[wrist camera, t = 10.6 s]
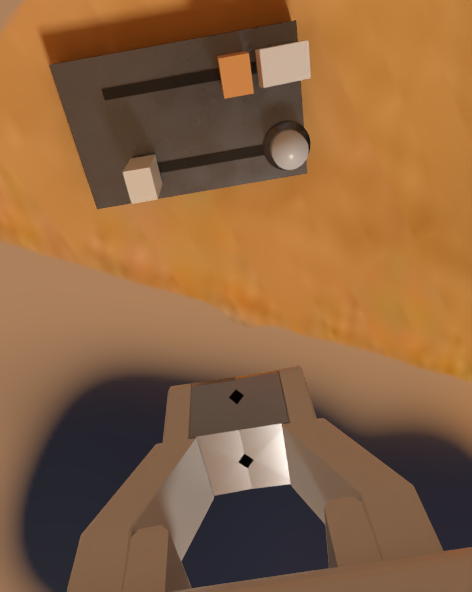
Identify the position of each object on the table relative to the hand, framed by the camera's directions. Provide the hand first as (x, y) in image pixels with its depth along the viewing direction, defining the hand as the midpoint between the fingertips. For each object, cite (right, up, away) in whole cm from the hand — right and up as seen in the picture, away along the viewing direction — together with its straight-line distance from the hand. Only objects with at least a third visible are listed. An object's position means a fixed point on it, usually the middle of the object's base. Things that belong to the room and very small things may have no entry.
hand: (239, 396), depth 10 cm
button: (+4, +14, +25) cm, 29 cm away
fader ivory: (-7, +12, +26) cm, 29 cm away
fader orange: (0, +19, +22) cm, 29 cm away
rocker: (+3, +19, +22) cm, 29 cm away
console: (-4, +17, +26) cm, 31 cm away
